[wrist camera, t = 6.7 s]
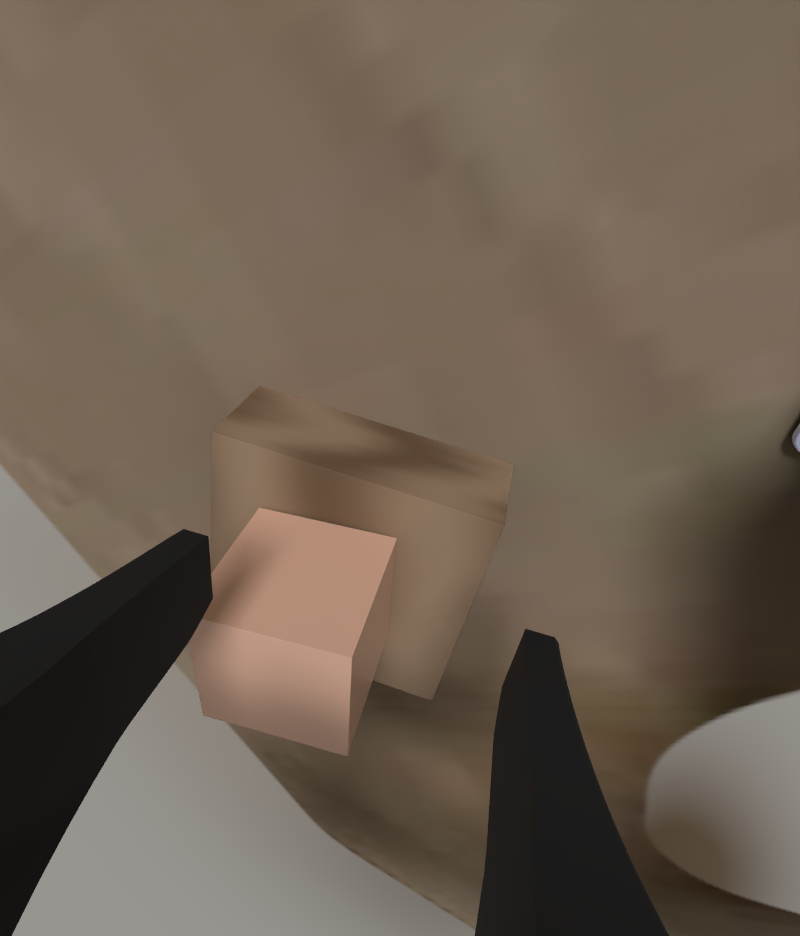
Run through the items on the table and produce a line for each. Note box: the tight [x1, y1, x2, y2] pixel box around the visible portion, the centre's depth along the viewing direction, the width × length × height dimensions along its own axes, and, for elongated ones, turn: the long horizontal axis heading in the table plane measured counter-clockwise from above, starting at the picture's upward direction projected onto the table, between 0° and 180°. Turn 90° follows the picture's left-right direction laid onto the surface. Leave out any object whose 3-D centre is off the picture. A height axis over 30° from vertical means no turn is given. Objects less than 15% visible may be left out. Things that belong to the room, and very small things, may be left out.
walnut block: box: [211, 386, 514, 701], centre depth 23 cm, size 10×10×4 cm
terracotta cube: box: [188, 508, 397, 757], centre depth 19 cm, size 5×5×5 cm
